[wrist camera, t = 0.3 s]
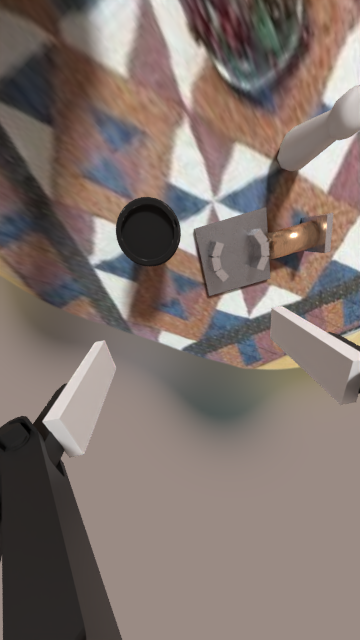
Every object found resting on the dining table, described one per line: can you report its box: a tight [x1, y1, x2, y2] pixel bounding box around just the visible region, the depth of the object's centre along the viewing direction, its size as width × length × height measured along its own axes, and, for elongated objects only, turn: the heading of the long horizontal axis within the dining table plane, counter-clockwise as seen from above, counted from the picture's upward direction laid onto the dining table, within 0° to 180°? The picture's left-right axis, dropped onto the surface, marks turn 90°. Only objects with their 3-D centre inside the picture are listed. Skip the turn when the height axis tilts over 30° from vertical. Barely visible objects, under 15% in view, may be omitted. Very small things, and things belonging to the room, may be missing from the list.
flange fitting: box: [194, 207, 333, 296], centre depth 35 cm, size 14×22×6 cm, turn 105°
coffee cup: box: [116, 197, 181, 266], centre depth 29 cm, size 8×8×15 cm
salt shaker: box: [277, 85, 360, 171], centre depth 26 cm, size 6×6×13 cm
